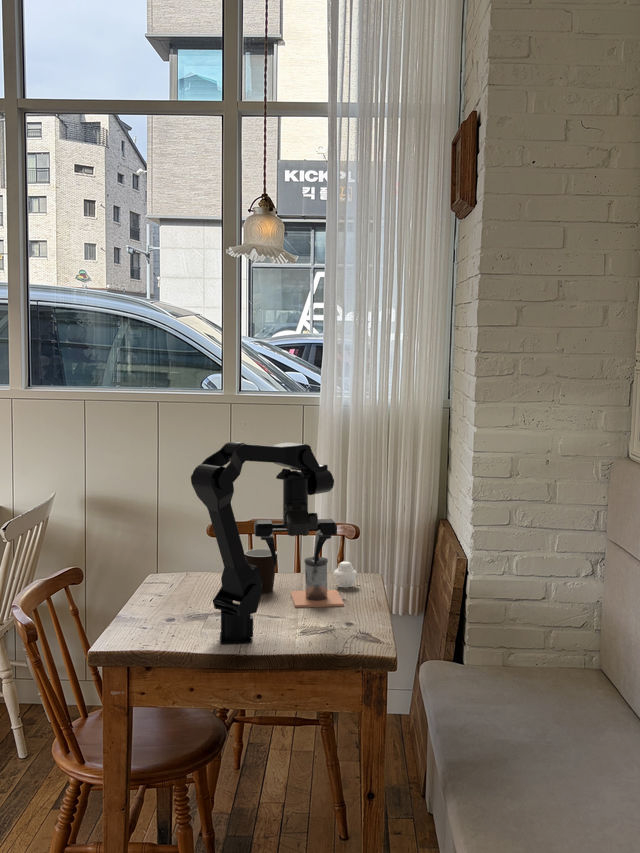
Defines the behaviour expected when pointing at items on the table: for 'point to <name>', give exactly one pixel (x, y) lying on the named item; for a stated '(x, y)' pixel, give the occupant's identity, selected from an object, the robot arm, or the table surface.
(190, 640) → the table surface
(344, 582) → the muffin
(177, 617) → the table surface
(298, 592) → the plate
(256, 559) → the coffee mug
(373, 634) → the table surface
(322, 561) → the press pot
